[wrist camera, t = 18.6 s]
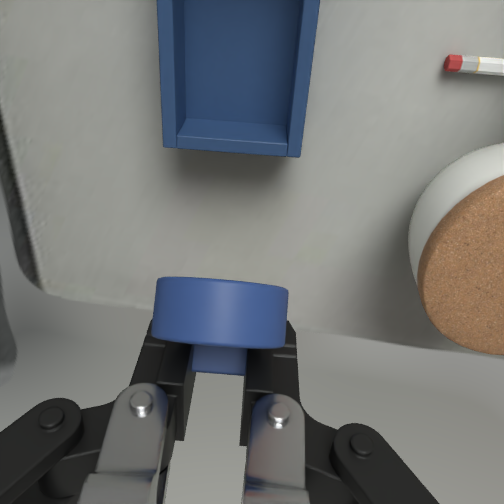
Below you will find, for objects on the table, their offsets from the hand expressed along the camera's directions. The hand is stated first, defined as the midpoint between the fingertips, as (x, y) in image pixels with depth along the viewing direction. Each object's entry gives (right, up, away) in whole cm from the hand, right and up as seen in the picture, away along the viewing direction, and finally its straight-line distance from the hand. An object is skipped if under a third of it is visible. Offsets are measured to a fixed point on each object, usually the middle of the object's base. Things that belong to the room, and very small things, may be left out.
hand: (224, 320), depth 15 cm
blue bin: (0, +14, +9) cm, 16 cm away
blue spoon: (0, +1, -1) cm, 2 cm away
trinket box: (+15, +5, +14) cm, 21 cm away
